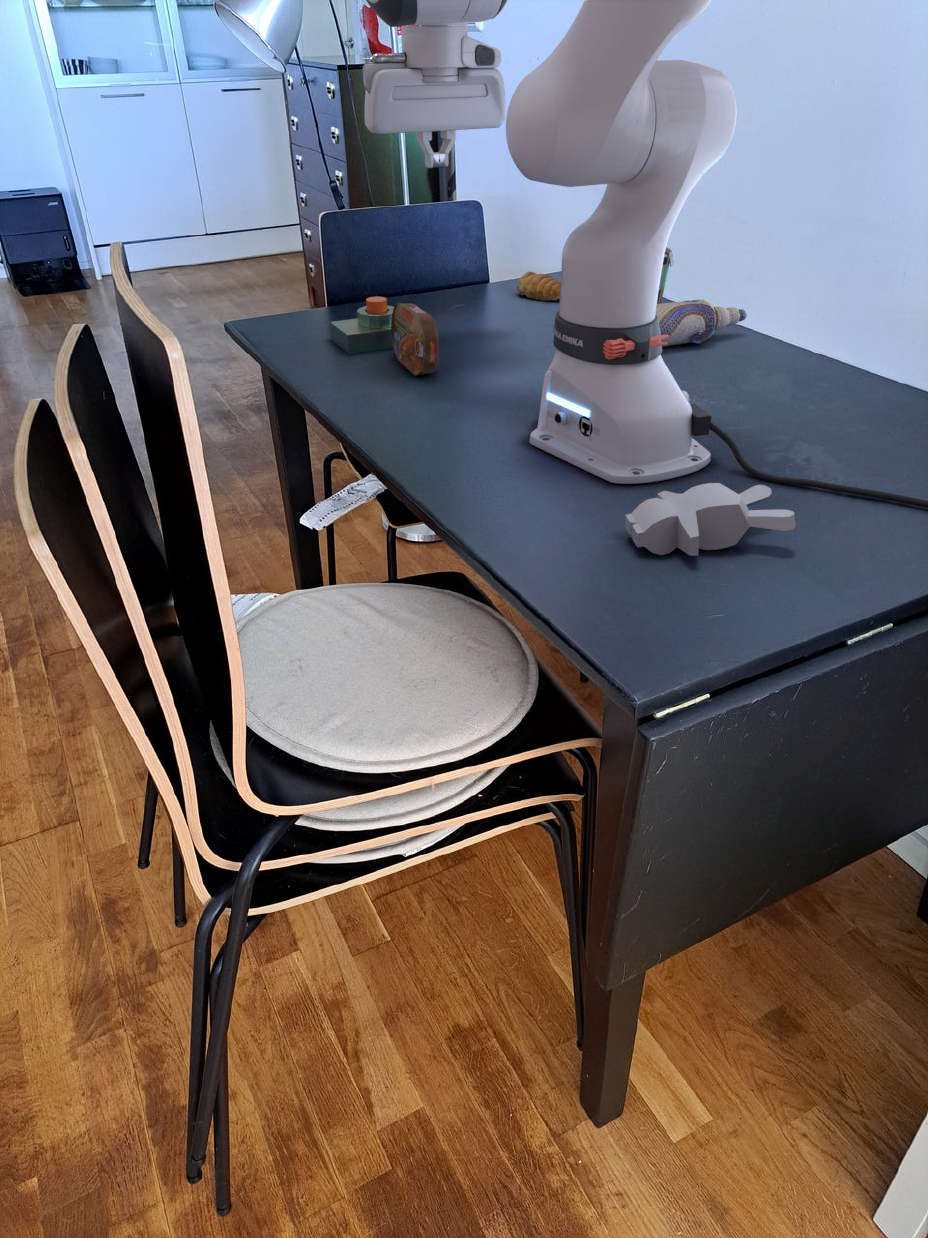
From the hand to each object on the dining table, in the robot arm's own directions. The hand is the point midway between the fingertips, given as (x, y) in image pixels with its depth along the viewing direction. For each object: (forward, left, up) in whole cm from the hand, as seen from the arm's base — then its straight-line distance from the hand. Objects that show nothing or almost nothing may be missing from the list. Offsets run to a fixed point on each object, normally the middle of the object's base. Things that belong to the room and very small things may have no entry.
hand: (436, 166), depth 126 cm
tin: (-9, +8, -25) cm, 28 cm away
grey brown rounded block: (+4, -41, -25) cm, 48 cm away
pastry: (+18, -29, -25) cm, 42 cm away
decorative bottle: (-18, -32, -25) cm, 45 cm away
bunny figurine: (-70, +4, -25) cm, 75 cm away
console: (+5, +8, -25) cm, 27 cm away
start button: (+5, +8, -21) cm, 23 cm away
